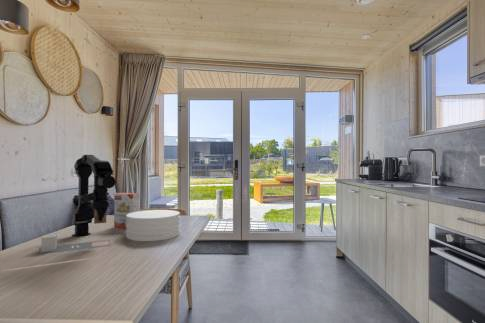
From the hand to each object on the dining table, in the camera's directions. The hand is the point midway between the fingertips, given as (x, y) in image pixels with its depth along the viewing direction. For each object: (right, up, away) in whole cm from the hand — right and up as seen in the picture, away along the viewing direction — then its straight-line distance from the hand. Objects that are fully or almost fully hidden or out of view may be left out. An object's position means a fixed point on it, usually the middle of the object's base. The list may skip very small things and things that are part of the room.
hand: (100, 220), depth 129 cm
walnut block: (0, -1, 0) cm, 1 cm away
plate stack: (+18, -13, +21) cm, 31 cm away
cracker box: (-4, -13, +38) cm, 40 cm away
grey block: (-17, -11, -10) cm, 23 cm away
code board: (-9, -12, -5) cm, 15 cm away
